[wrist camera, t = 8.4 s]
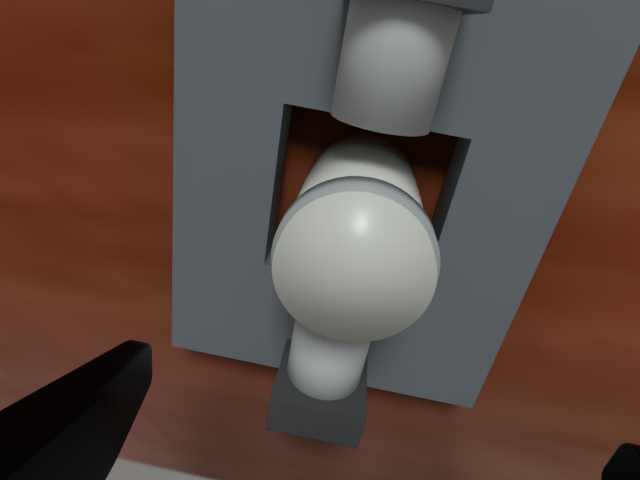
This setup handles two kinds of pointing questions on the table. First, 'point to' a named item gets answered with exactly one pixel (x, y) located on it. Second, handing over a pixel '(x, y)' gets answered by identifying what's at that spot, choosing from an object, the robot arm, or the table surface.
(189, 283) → the shaft mount
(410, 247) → the coupler
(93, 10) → the table surface
